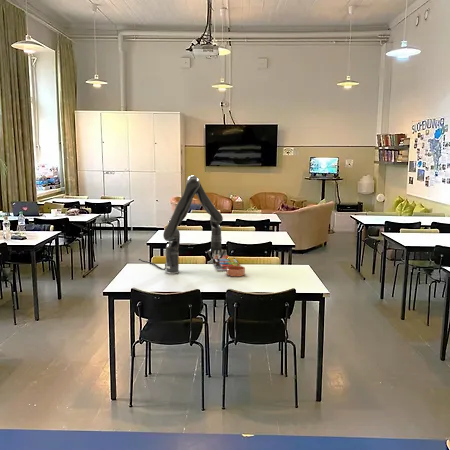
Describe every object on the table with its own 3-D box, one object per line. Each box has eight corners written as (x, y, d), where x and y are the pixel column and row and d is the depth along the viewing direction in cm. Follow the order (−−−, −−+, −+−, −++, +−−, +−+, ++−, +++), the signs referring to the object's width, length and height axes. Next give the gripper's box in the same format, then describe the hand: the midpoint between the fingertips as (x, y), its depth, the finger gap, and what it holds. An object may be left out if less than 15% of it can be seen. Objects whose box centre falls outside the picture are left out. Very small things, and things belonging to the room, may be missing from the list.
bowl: (224, 272, 330) (224, 266, 329) (242, 271, 333) (242, 265, 332) (229, 277, 317) (229, 270, 316) (247, 276, 320) (247, 269, 319)
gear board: (242, 267, 337) (217, 268, 334) (242, 270, 337) (217, 271, 335) (233, 254, 381) (211, 255, 378) (233, 257, 381) (211, 258, 379)
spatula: (211, 263, 332) (211, 258, 331) (218, 262, 333) (218, 258, 332) (216, 268, 315) (216, 264, 315) (223, 268, 317) (223, 264, 316)
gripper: (224, 239, 331) (223, 262, 334) (205, 239, 328) (205, 263, 330) (226, 241, 324) (226, 264, 327) (208, 241, 321) (207, 265, 323)
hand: (216, 263), depth 328 cm, fingers closed on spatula, 2 cm apart
